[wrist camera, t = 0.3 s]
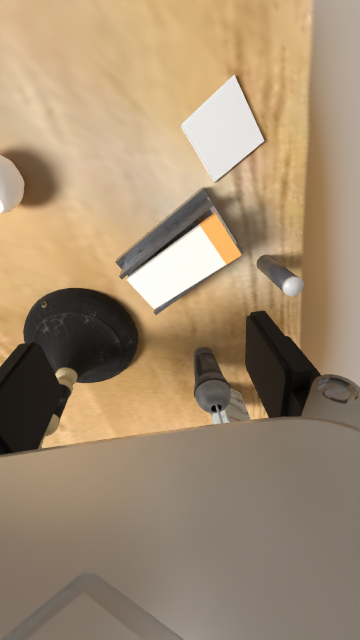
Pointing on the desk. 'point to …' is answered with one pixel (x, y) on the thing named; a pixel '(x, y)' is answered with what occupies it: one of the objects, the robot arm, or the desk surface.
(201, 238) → the tilting box lid
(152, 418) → the desk surface
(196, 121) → the mat
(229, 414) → the ink box
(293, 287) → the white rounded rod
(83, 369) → the banker's lamp
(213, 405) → the beverage cup
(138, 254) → the tilting lid box
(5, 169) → the white lumpy ball
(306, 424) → the robot arm
